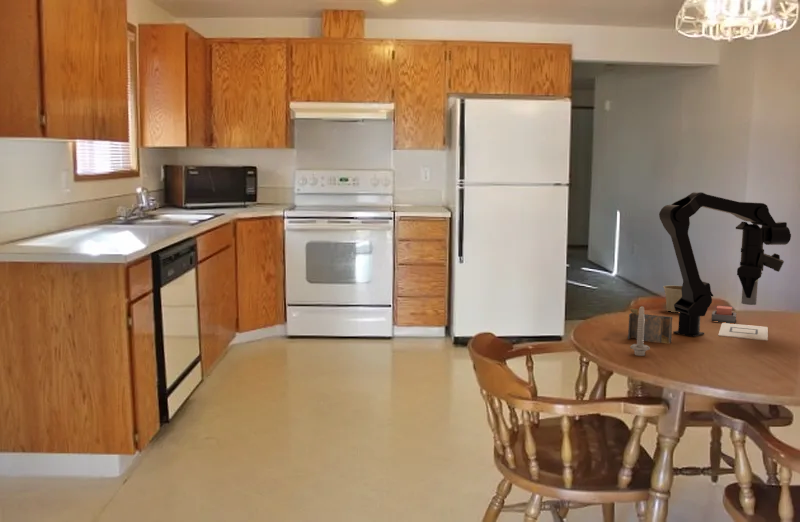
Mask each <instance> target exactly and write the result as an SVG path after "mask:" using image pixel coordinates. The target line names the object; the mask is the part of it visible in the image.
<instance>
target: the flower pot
mask: <svg viewBox="0 0 800 522" xmlns="http://www.w3.org/2000/svg"><path fill="white" fill-rule="evenodd" d="M662 288H663V289H664V293H665V303H666V311H667V312H668V311H671V312H678V311H675V308H674V304H675V303H676V302H677V301H678V300H679V299H680V298H681V297H682V291H681V289H682V285H673V284H672V285H663V287H662ZM671 312H670V313H671Z"/></svg>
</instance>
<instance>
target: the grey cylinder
mask: <svg viewBox="0 0 800 522" xmlns="http://www.w3.org/2000/svg"><path fill="white" fill-rule="evenodd" d="M758 283H759V279H758V280H756V281H755V284H754V287H753V291H752V294H751V298H746V295H745V292H744V290H743V287H742V286H741V287H742V289H741V303H740V304H743V305H749V306H755V305H757V302H758V301H757V298H758V297H757V296H758Z"/></svg>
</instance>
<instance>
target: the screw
mask: <svg viewBox="0 0 800 522" xmlns="http://www.w3.org/2000/svg"><path fill="white" fill-rule="evenodd" d="M638 309H639V317H638V327H637V328H638V329H637V330H638V331H637V332H638V336H637V340H636V343H633V344H631V345H630V349H632V350H633V351H634V355H635V356H638V357H643V356H644V357H645V356H646V352H647V351H649V350H650V346H649V345H647V344H644V343H645V341H644V327H645V326H644V325H645V324H644V323H645V322H644V321H645V319H644V318H645V317H644V316H645V315H644V314H645V307H644V306H640V307H639V308H638Z"/></svg>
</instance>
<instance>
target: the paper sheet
mask: <svg viewBox="0 0 800 522" xmlns="http://www.w3.org/2000/svg"><path fill="white" fill-rule="evenodd" d="M768 329H769V328H768V326H760V325H751V324H750V325H749V324H738V323H735V324H730V323H721V325H720V328H719V332H718V335H717V336H720V337H728V338H736V339H737V338H738V339H747V340H750V339H751V340H757V341H766V342H768V340H769V332H768Z"/></svg>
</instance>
